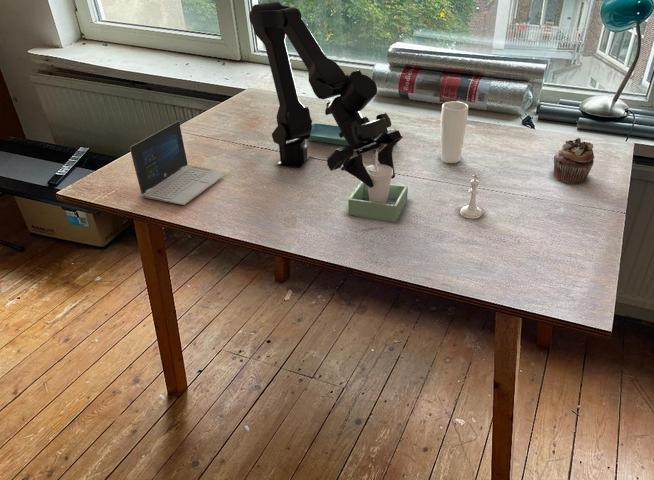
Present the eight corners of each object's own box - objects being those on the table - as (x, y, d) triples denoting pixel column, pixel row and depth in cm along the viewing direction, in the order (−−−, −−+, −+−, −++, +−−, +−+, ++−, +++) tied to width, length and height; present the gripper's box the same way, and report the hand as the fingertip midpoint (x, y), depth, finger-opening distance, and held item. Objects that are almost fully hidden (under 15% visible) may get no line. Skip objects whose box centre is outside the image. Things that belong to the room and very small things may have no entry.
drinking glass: (462, 166, 151) (467, 110, 142) (436, 164, 152) (440, 109, 143) (463, 155, 156) (469, 101, 147) (438, 153, 157) (443, 100, 148)
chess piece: (476, 220, 128) (482, 180, 122) (456, 214, 130) (460, 175, 124) (485, 211, 131) (490, 171, 125) (465, 205, 133) (470, 166, 127)
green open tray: (348, 214, 130) (348, 199, 128) (362, 194, 138) (362, 179, 136) (395, 222, 127) (396, 206, 125) (407, 201, 135) (407, 186, 133)
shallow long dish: (398, 140, 165) (398, 132, 163) (389, 153, 158) (389, 144, 156) (314, 130, 171) (313, 122, 170) (302, 141, 164) (301, 133, 163)
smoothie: (363, 201, 135) (363, 146, 127) (390, 200, 135) (392, 145, 127) (366, 215, 130) (365, 158, 122) (393, 214, 130) (395, 157, 122)
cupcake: (595, 176, 145) (605, 139, 140) (578, 189, 140) (587, 151, 134) (561, 165, 151) (569, 129, 145) (543, 177, 145) (550, 140, 139)
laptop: (184, 207, 133) (173, 155, 126) (141, 197, 137) (128, 147, 130) (227, 175, 147) (219, 127, 139) (187, 167, 151) (177, 120, 143)
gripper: (333, 113, 116) (369, 180, 116) (398, 93, 126) (431, 155, 126) (311, 138, 126) (345, 201, 125) (374, 118, 136) (405, 175, 135)
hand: (383, 182), depth 128 cm, fingers closed on smoothie, 6 cm apart
